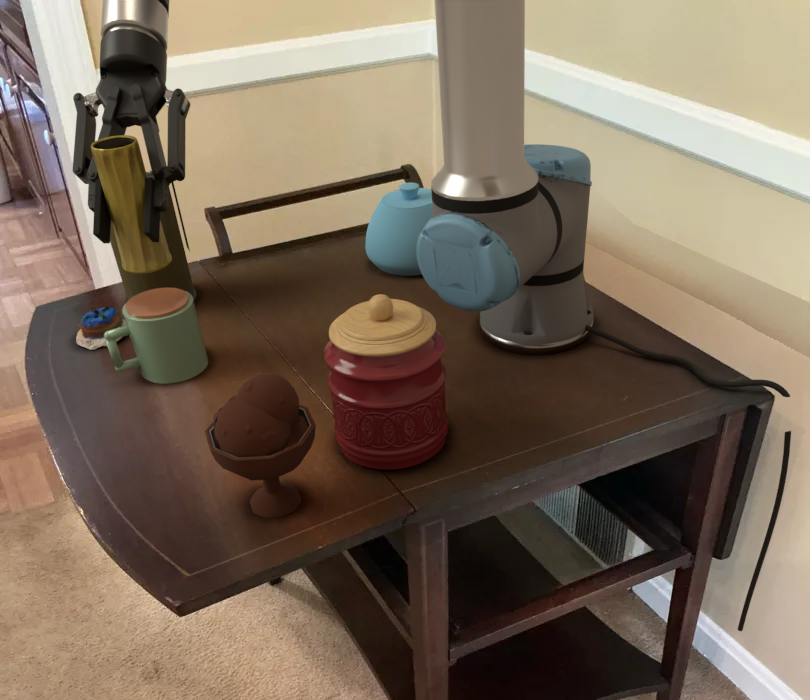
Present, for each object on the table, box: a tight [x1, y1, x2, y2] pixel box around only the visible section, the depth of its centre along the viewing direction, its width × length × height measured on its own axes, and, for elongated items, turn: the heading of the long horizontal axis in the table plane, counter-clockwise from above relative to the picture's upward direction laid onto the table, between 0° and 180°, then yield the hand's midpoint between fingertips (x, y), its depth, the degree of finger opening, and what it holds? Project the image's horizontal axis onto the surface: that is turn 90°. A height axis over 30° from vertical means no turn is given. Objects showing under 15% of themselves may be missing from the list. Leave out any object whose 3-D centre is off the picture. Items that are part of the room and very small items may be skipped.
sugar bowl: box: [364, 181, 433, 277], centre depth 131 cm, size 15×15×12 cm
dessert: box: [75, 305, 126, 351], centre depth 121 cm, size 8×7×6 cm
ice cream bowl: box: [204, 371, 317, 519], centre depth 85 cm, size 11×11×15 cm
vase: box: [91, 134, 172, 274], centre depth 100 cm, size 6×6×14 cm
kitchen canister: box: [323, 293, 449, 471], centre depth 92 cm, size 13×13×18 cm
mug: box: [104, 288, 209, 385], centre depth 110 cm, size 9×12×9 cm
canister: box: [110, 171, 197, 301], centre depth 123 cm, size 11×10×20 cm
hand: (126, 237), depth 99 cm, fingers closed on vase, 5 cm apart
